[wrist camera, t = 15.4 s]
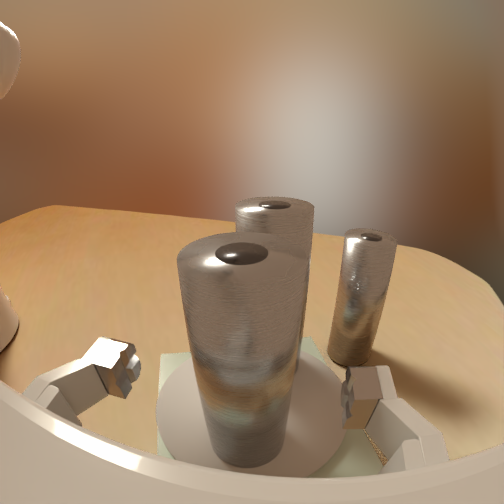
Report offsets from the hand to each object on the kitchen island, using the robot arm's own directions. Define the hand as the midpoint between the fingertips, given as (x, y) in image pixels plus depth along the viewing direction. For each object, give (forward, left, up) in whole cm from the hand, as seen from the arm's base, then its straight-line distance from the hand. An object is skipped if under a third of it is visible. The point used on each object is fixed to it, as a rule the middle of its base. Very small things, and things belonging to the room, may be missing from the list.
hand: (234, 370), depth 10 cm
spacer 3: (+12, +11, -12) cm, 20 cm away
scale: (+1, +3, -12) cm, 12 cm away
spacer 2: (+1, +2, -8) cm, 8 cm away
